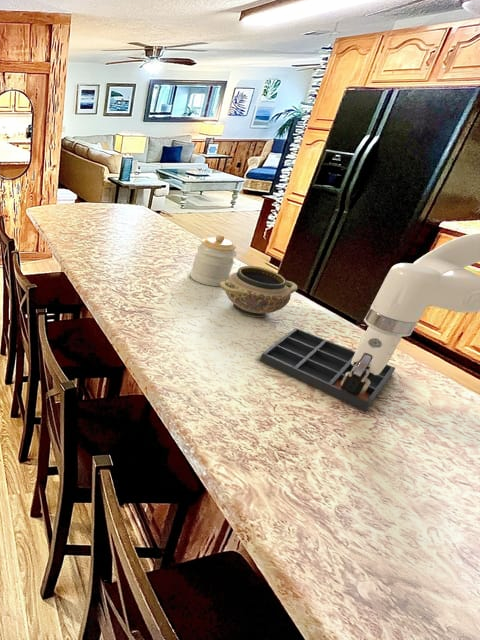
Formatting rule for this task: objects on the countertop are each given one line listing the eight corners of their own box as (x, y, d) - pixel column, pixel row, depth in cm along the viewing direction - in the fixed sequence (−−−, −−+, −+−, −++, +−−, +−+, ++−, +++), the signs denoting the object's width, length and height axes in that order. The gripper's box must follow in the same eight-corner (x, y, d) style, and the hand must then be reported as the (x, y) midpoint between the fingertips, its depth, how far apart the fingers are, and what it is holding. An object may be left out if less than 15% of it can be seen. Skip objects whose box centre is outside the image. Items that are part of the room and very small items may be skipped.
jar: (231, 289, 139) (246, 243, 132) (192, 283, 142) (204, 238, 135) (222, 274, 151) (236, 231, 143) (187, 270, 154) (198, 227, 146)
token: (367, 389, 89) (373, 379, 88) (361, 397, 87) (367, 387, 86) (343, 379, 92) (349, 369, 91) (337, 386, 90) (343, 376, 89)
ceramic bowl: (220, 327, 121) (241, 292, 111) (197, 289, 134) (214, 255, 124) (296, 329, 121) (324, 294, 112) (266, 291, 135) (288, 257, 125)
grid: (391, 375, 98) (395, 367, 96) (365, 412, 86) (370, 404, 85) (292, 334, 113) (295, 327, 112) (259, 360, 102) (262, 353, 101)
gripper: (404, 342, 74) (362, 412, 82) (423, 317, 83) (383, 382, 91) (355, 324, 80) (320, 392, 88) (378, 302, 89) (344, 366, 97)
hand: (353, 386), depth 90 cm, fingers closed on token, 4 cm apart
